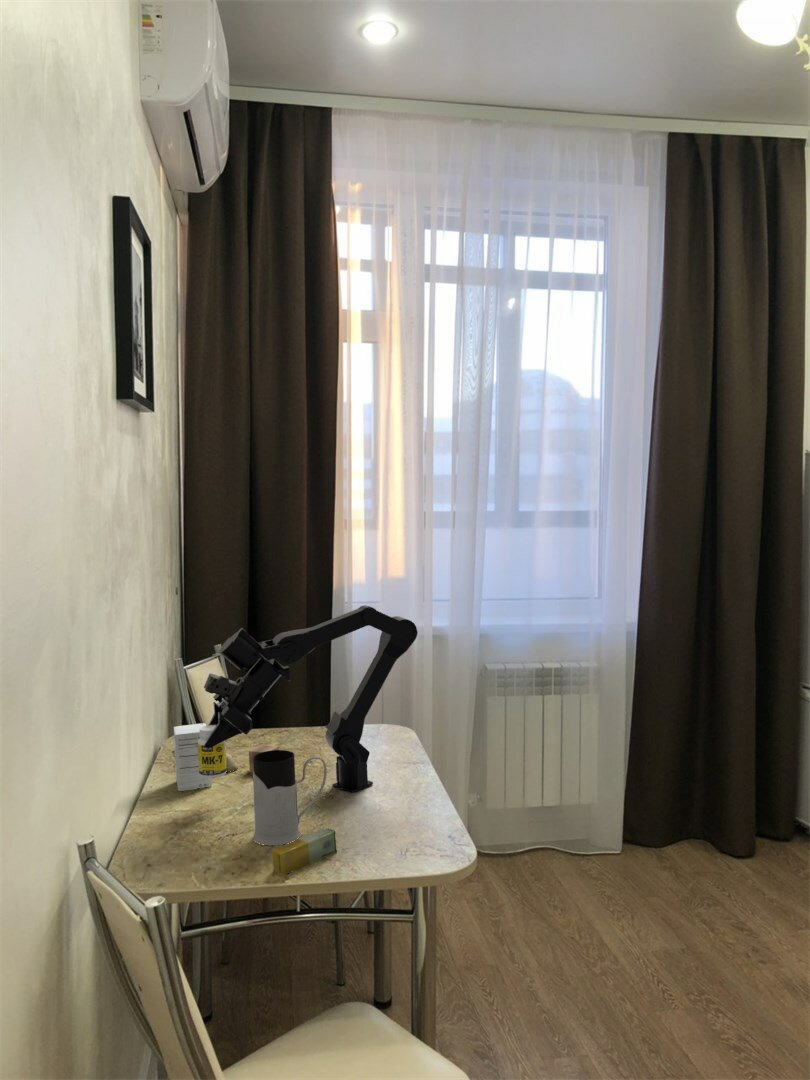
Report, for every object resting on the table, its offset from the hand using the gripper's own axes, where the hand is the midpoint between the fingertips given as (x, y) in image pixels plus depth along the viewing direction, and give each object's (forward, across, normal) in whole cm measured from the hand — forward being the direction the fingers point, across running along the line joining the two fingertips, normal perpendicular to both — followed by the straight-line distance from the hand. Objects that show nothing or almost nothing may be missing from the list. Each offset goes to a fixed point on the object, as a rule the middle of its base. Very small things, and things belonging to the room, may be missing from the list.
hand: (204, 743), depth 166 cm
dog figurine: (+6, -23, +13) cm, 27 cm away
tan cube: (-1, -20, +20) cm, 28 cm away
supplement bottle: (+4, 0, +6) cm, 7 cm away
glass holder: (0, +20, +19) cm, 28 cm away
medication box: (+1, +33, +19) cm, 38 cm away
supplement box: (+11, -16, +8) cm, 21 cm away
